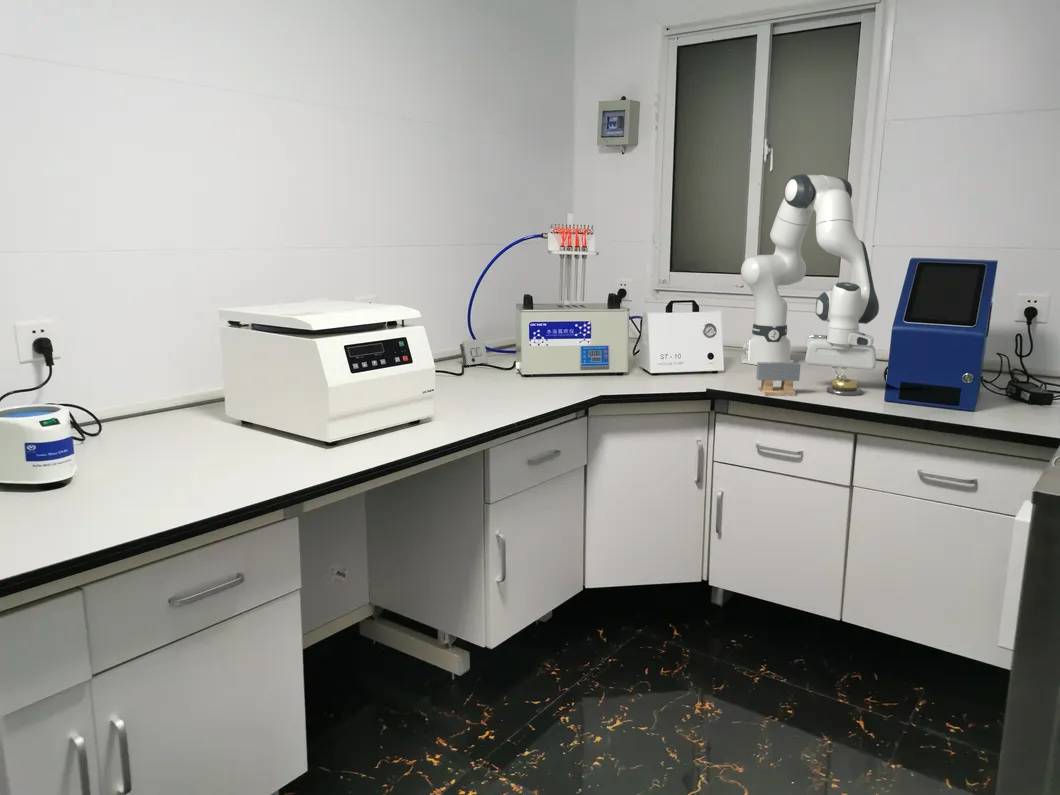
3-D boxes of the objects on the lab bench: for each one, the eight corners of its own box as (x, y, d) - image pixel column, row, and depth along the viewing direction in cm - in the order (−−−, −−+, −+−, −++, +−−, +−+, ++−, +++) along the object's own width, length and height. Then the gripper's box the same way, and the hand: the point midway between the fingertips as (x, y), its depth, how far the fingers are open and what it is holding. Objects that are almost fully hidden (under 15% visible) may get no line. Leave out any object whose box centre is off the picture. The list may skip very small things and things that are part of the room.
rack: (758, 389, 243) (759, 376, 242) (787, 389, 243) (788, 377, 242) (764, 395, 235) (765, 382, 234) (795, 395, 235) (796, 382, 234)
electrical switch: (468, 367, 281) (466, 341, 279) (459, 366, 285) (457, 340, 283) (488, 364, 287) (486, 338, 286) (479, 363, 291) (478, 338, 289)
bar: (756, 378, 240) (757, 362, 239) (796, 378, 239) (798, 362, 238) (758, 380, 237) (759, 363, 236) (799, 380, 236) (800, 364, 235)
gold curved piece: (830, 382, 248) (831, 373, 248) (854, 383, 246) (855, 375, 246) (832, 390, 237) (833, 381, 236) (857, 391, 235) (858, 382, 234)
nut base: (821, 388, 244) (822, 385, 244) (854, 389, 244) (854, 385, 244) (832, 395, 234) (833, 392, 234) (867, 396, 234) (867, 392, 234)
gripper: (805, 335, 243) (801, 379, 246) (877, 341, 234) (872, 386, 238) (808, 332, 248) (804, 375, 252) (878, 337, 240) (873, 382, 243)
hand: (838, 380), depth 245 cm, fingers closed
